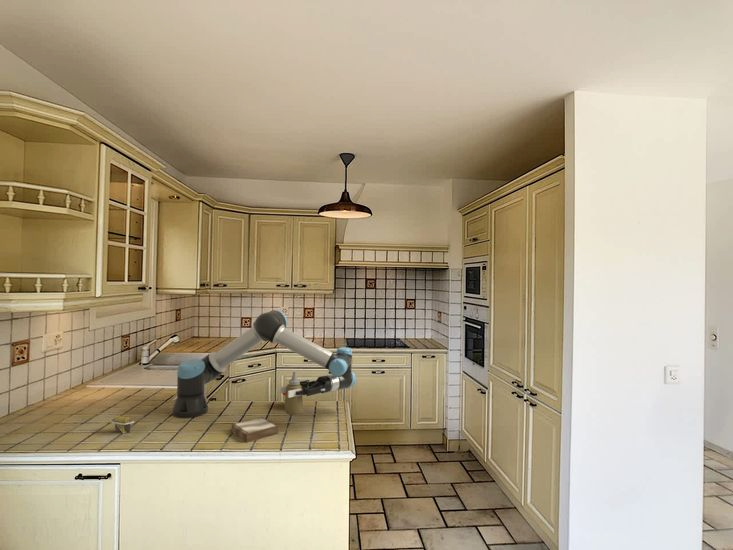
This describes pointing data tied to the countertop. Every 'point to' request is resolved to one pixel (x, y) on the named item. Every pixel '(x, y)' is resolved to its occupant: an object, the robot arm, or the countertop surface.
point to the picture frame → (254, 429)
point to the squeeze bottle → (293, 403)
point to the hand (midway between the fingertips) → (284, 392)
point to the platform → (122, 423)
